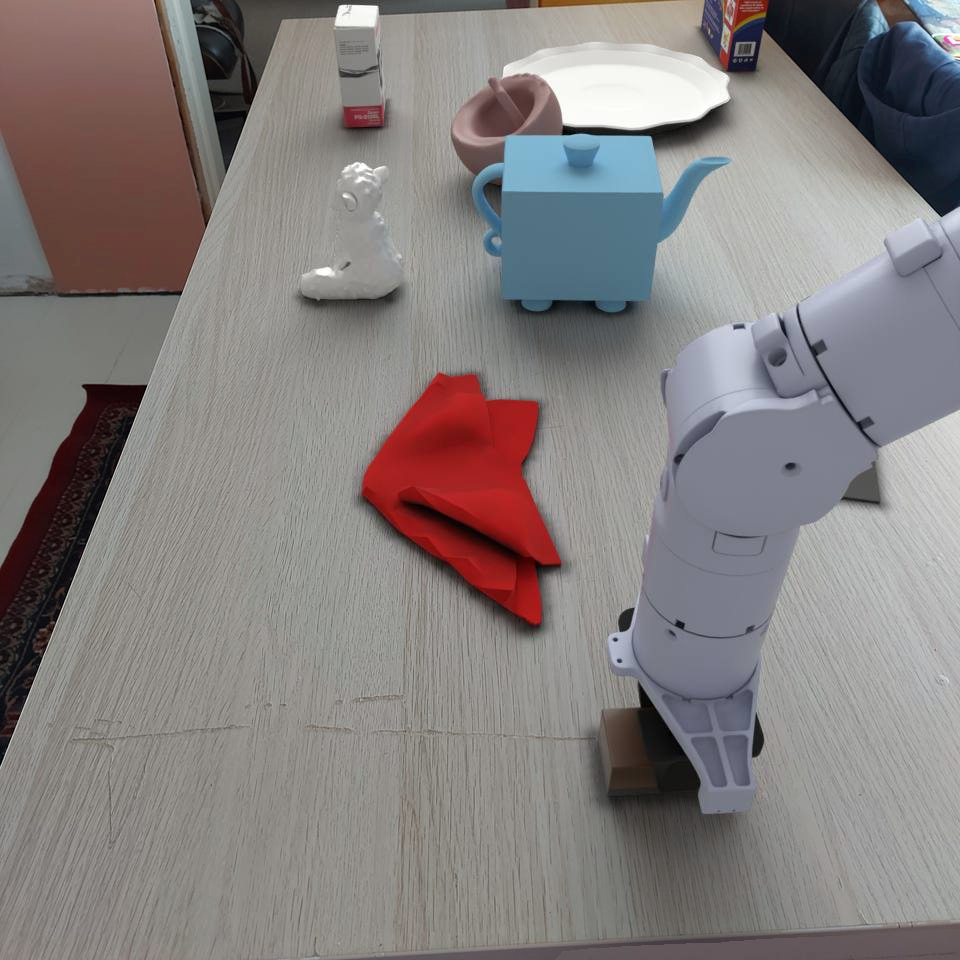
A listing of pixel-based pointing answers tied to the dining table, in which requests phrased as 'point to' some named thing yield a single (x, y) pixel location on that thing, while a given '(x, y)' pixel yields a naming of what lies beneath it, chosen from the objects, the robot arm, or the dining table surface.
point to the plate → (626, 87)
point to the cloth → (467, 489)
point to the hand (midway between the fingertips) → (669, 749)
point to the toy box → (735, 31)
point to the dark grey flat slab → (864, 486)
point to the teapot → (582, 217)
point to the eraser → (625, 754)
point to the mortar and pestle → (503, 119)
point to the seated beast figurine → (358, 242)
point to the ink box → (360, 65)
